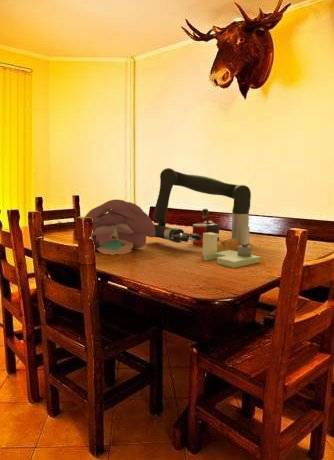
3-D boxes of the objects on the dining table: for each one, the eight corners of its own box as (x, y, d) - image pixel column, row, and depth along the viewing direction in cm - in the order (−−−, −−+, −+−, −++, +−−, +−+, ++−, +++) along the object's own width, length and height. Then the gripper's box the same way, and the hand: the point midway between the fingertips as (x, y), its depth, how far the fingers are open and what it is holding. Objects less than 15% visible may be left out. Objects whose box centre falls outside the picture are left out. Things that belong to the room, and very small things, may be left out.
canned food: (205, 245, 197) (206, 225, 196) (191, 244, 199) (191, 225, 197) (207, 243, 205) (207, 224, 203) (193, 242, 206) (193, 223, 205)
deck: (229, 255, 172) (230, 239, 171) (259, 262, 158) (260, 245, 157) (203, 259, 162) (204, 243, 161) (233, 267, 148) (234, 249, 147)
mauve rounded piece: (90, 267, 166) (87, 209, 156) (75, 249, 185) (71, 196, 175) (156, 253, 183) (157, 200, 172) (136, 237, 202) (136, 189, 191)
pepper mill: (220, 239, 217) (221, 210, 214) (205, 241, 211) (206, 210, 209) (205, 236, 230) (206, 208, 228) (191, 237, 225) (191, 208, 222)
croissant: (211, 260, 178) (215, 247, 173) (204, 247, 185) (207, 235, 181) (249, 256, 184) (253, 244, 179) (240, 244, 192) (244, 232, 187)
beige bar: (209, 254, 173) (210, 232, 171) (218, 256, 168) (219, 233, 167) (202, 255, 170) (203, 233, 169) (211, 258, 166) (212, 234, 164)
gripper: (163, 228, 185) (183, 232, 173) (184, 226, 194) (204, 230, 181) (163, 242, 187) (183, 248, 174) (184, 240, 195) (204, 245, 182)
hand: (194, 239), depth 178 cm, fingers open, 8 cm apart
